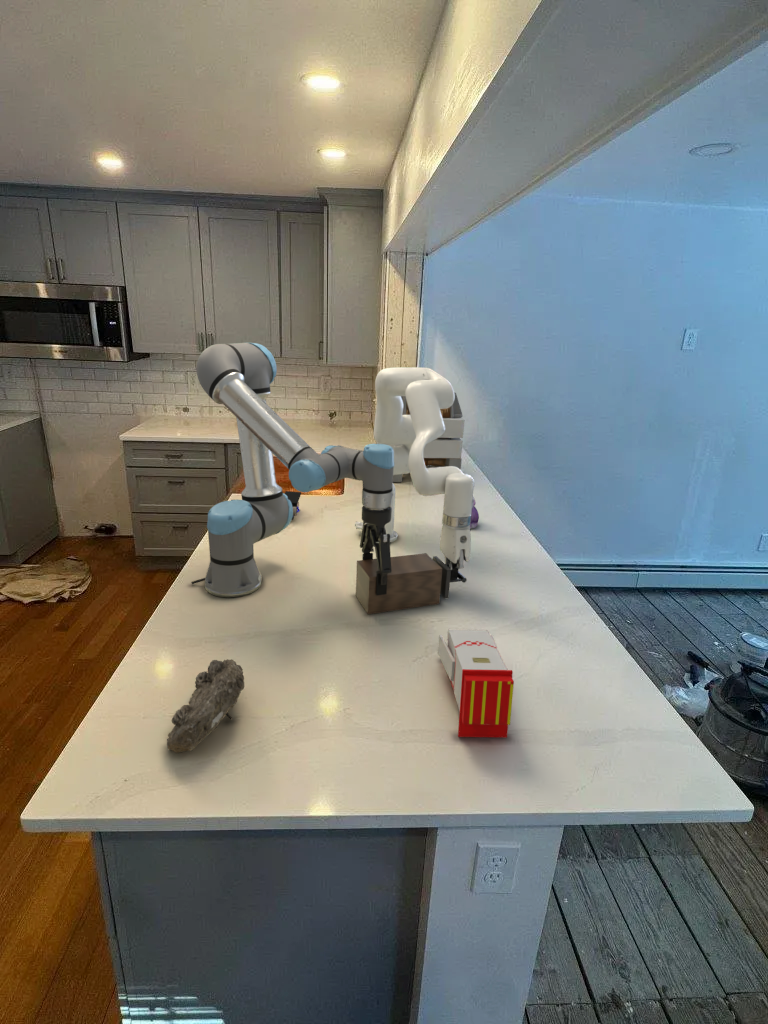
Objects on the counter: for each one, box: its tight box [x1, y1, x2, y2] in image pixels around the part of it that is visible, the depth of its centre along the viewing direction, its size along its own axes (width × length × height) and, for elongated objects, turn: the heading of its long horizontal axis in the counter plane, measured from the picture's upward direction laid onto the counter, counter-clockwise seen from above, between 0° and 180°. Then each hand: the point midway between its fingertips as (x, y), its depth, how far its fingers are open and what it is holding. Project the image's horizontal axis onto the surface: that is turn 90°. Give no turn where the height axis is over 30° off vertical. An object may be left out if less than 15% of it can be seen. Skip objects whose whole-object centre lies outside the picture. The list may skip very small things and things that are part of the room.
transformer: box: [389, 391, 465, 483], centre depth 268 cm, size 34×33×41 cm
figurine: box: [469, 496, 480, 529], centre depth 208 cm, size 9×10×15 cm
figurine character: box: [284, 490, 302, 521], centre depth 211 cm, size 7×8×15 cm
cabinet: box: [355, 552, 442, 615], centre depth 153 cm, size 20×10×10 cm, turn 110°
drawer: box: [432, 555, 468, 600], centre depth 155 cm, size 25×9×9 cm, turn 110°
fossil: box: [166, 658, 245, 754], centre depth 106 cm, size 22×10×15 cm
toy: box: [437, 628, 515, 738], centre depth 117 cm, size 12×13×30 cm
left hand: (373, 584), depth 150 cm, fingers closed on cabinet, 10 cm apart
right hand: (450, 580), depth 159 cm, fingers closed
